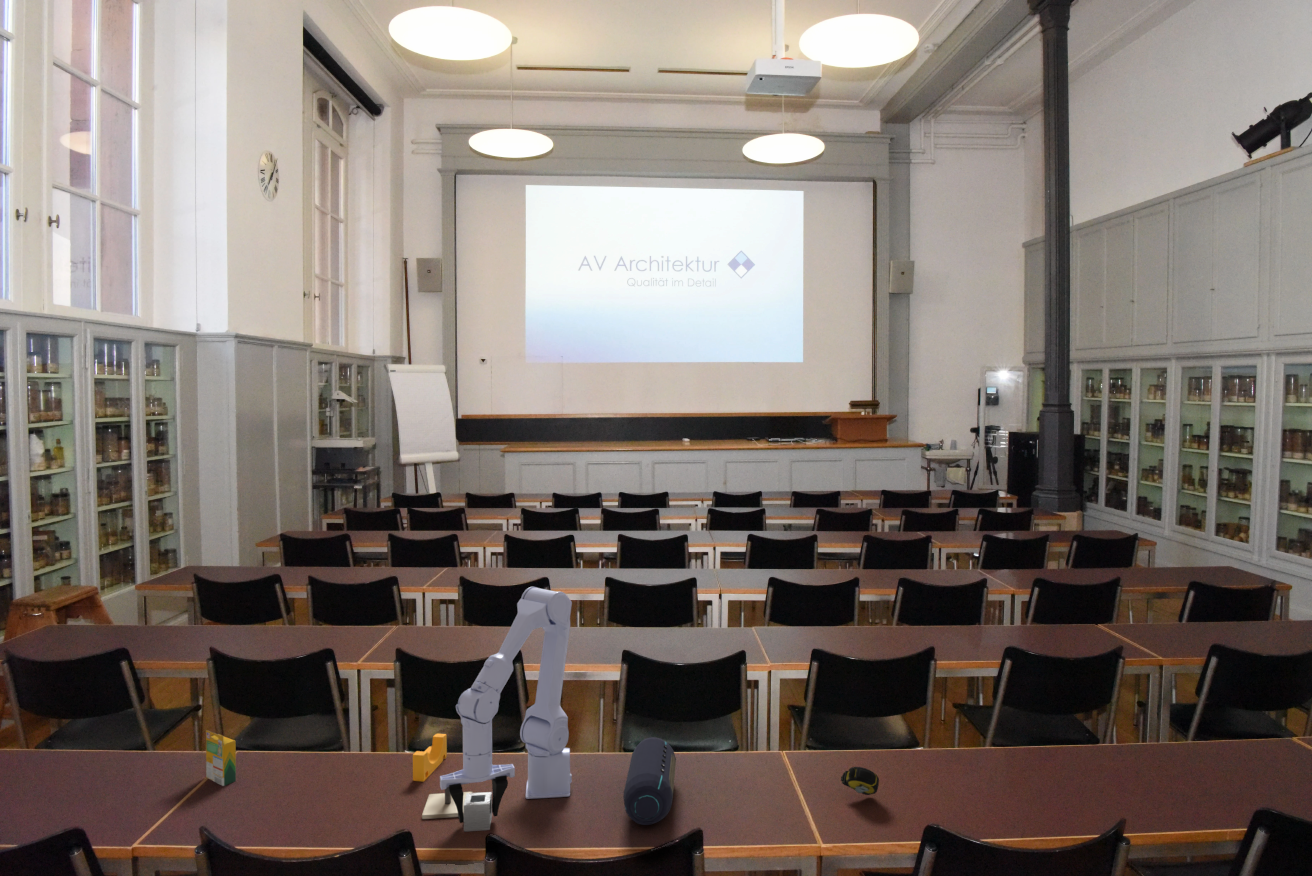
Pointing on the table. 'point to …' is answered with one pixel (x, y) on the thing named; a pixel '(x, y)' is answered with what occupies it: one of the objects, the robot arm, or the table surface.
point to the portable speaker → (650, 781)
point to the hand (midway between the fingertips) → (478, 817)
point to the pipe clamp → (429, 758)
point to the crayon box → (220, 758)
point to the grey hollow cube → (477, 811)
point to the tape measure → (861, 780)
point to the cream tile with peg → (441, 806)
